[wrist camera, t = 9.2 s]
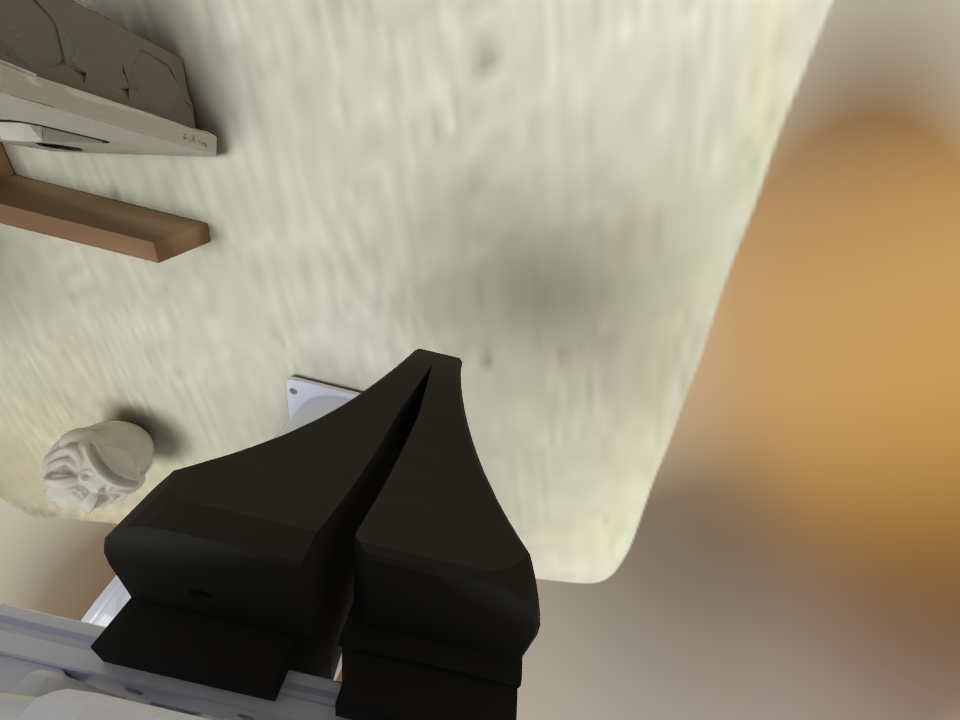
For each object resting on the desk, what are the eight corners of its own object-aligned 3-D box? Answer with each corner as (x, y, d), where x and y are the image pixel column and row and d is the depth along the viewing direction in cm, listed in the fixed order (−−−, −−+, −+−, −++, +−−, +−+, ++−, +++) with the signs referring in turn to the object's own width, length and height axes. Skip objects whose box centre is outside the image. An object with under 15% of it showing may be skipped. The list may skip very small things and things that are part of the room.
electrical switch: (61, 151, 20) (-270, 147, 12) (5, 20, 17) (-460, -100, 9) (232, 157, 19) (4, 158, 11) (199, 20, 17) (-126, -112, 8)
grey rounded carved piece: (198, 448, 32) (122, 525, 26) (142, 463, 34) (60, 537, 28) (140, 392, 29) (40, 464, 23) (82, 411, 31) (-22, 482, 25)
